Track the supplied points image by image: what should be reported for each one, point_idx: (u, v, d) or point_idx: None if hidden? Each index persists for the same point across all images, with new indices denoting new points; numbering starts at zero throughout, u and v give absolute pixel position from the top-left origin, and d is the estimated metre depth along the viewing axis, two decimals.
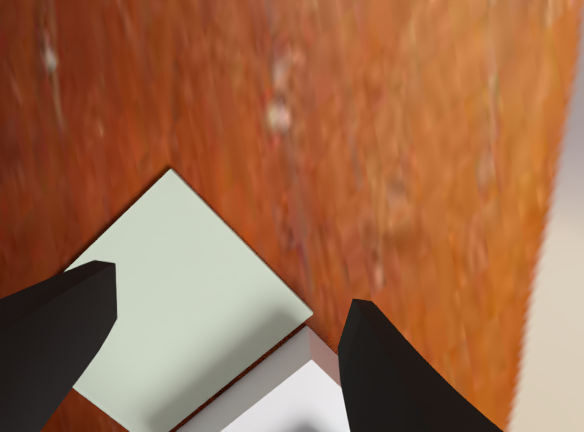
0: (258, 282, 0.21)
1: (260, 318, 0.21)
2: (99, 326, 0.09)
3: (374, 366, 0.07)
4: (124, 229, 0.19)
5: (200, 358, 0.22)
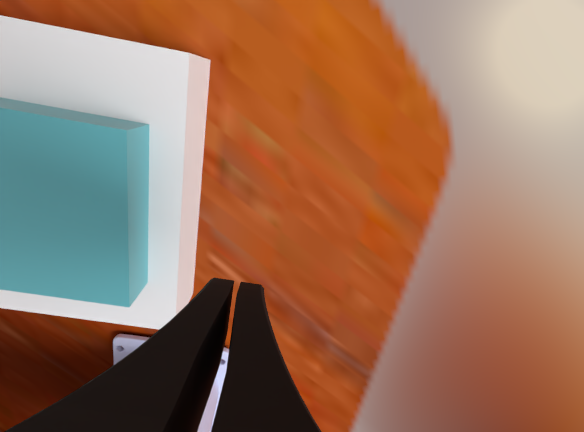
0: None
1: None
2: (222, 343, 0.09)
3: (230, 347, 0.07)
4: None
5: None
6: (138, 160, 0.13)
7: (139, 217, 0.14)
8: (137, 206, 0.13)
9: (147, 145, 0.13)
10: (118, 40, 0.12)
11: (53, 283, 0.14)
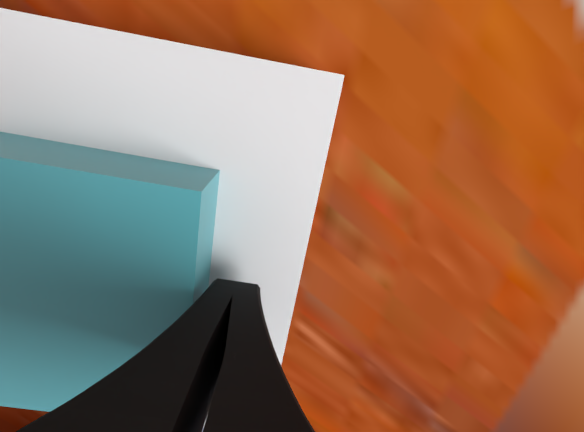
0: None
1: None
2: (226, 343, 0.09)
3: None
4: None
5: None
6: (207, 227, 0.08)
7: None
8: (200, 290, 0.09)
9: (216, 200, 0.09)
10: (238, 57, 0.08)
11: None
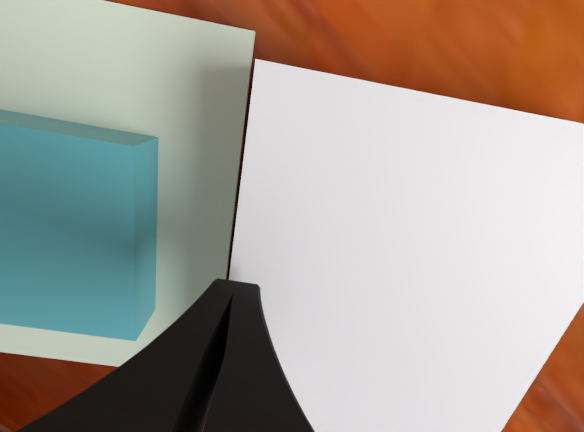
0: (127, 44, 0.11)
1: (184, 107, 0.11)
2: (226, 343, 0.09)
3: None
4: None
5: (165, 232, 0.13)
6: None
7: None
8: None
9: None
10: None
11: None
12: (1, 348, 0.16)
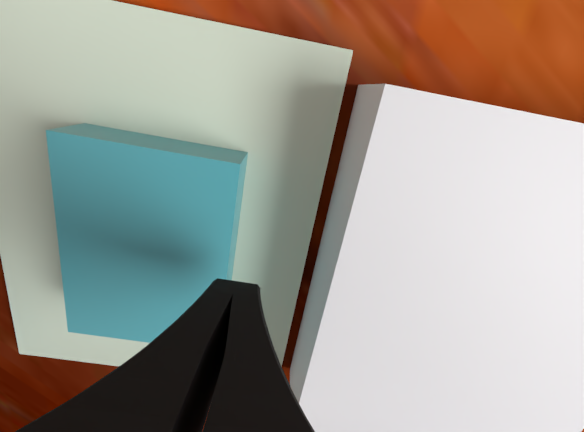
0: (227, 62, 0.11)
1: (277, 123, 0.12)
2: (226, 343, 0.09)
3: None
4: None
5: (244, 244, 0.13)
6: None
7: None
8: None
9: None
10: None
11: None
12: (70, 356, 0.16)
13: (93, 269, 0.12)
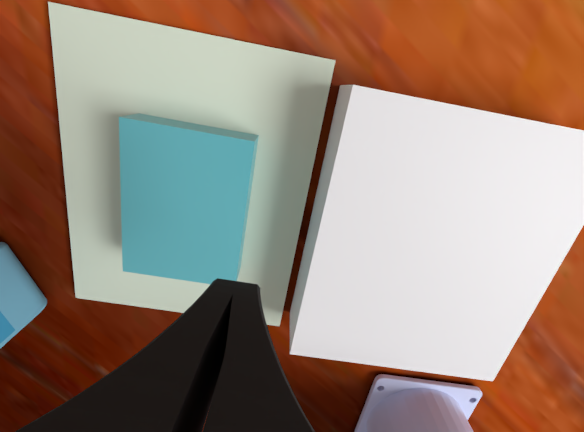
0: (244, 69, 0.15)
1: (280, 113, 0.16)
2: (226, 343, 0.09)
3: None
4: (72, 116, 0.16)
5: (255, 207, 0.18)
6: None
7: None
8: None
9: None
10: (572, 129, 0.13)
11: None
12: (116, 300, 0.20)
13: (144, 221, 0.16)
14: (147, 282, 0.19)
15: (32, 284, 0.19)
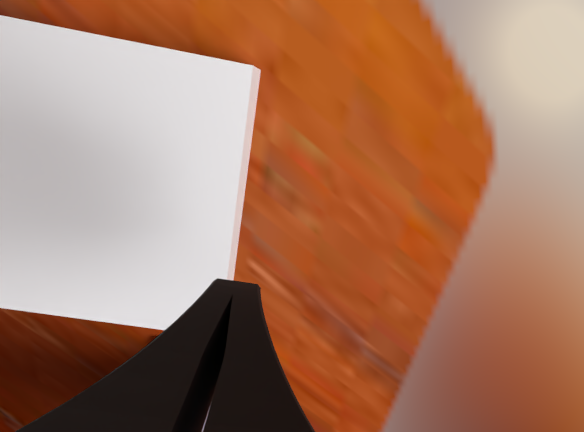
0: None
1: None
2: (226, 343, 0.09)
3: None
4: None
5: None
6: None
7: None
8: None
9: None
10: (184, 53, 0.12)
11: None
12: None
13: None
14: None
15: None
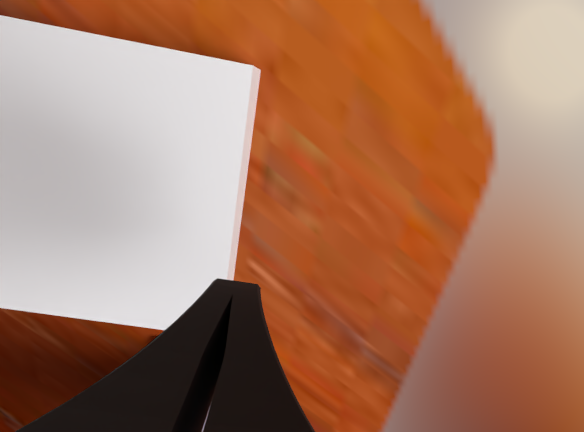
0: None
1: None
2: (226, 343, 0.09)
3: None
4: None
5: None
6: None
7: None
8: None
9: None
10: (184, 53, 0.12)
11: None
12: None
13: None
14: None
15: None
